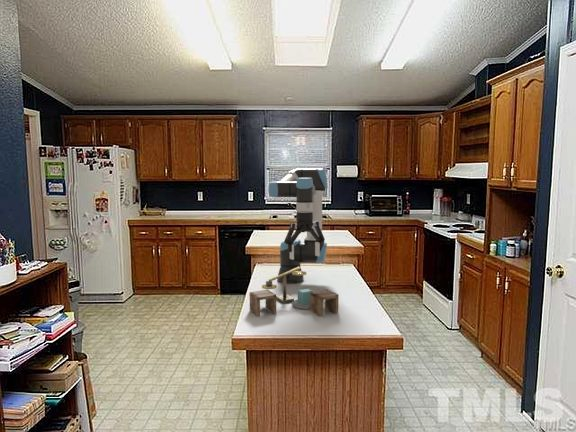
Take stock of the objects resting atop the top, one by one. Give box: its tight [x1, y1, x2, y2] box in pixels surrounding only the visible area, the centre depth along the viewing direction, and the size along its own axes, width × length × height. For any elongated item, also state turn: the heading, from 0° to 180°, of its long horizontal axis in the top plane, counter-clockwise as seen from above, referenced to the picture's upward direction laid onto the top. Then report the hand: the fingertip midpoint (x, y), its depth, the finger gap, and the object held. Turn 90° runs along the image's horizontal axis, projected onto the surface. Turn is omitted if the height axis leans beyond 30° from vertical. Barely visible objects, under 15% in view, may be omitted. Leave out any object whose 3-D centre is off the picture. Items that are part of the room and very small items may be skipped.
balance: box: [261, 266, 307, 304], centre depth 193 cm, size 8×23×16 cm, turn 117°
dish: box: [291, 298, 310, 311], centre depth 186 cm, size 12×12×1 cm
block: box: [297, 288, 313, 305], centre depth 186 cm, size 5×5×6 cm
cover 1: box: [249, 289, 277, 318], centre depth 177 cm, size 9×9×8 cm
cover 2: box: [309, 289, 339, 318], centre depth 177 cm, size 9×9×8 cm
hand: (304, 257), depth 184 cm, fingers open, 13 cm apart
